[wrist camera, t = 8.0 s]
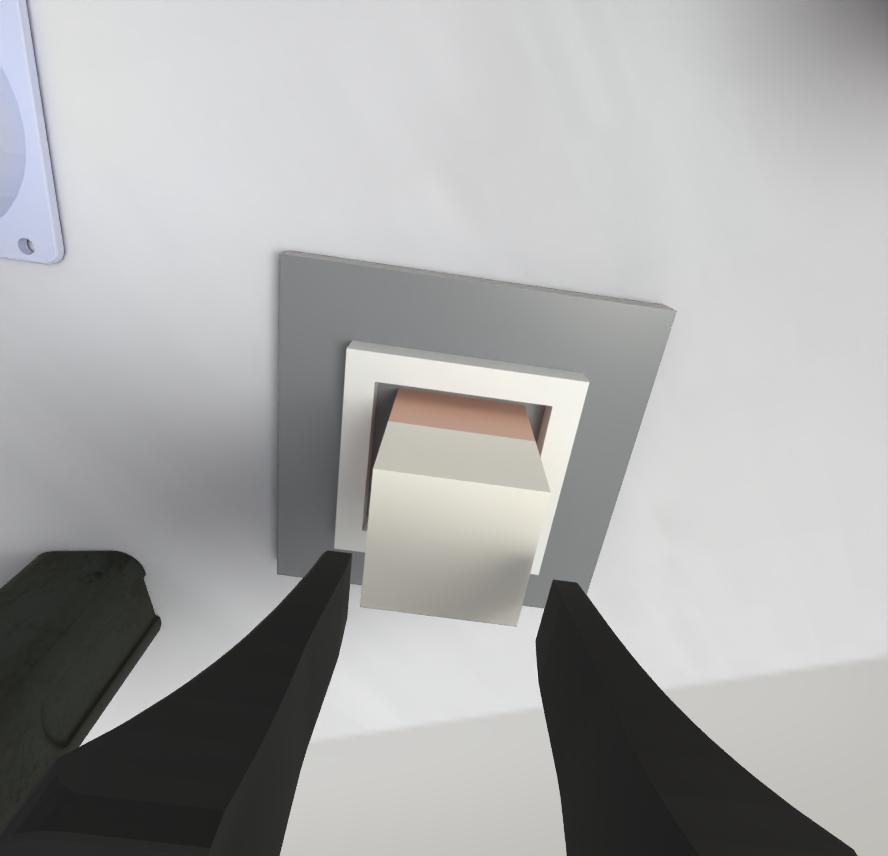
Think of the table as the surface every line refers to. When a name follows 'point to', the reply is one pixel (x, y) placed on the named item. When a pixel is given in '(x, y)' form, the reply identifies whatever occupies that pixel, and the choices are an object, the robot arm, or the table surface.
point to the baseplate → (455, 373)
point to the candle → (64, 656)
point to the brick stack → (454, 509)
